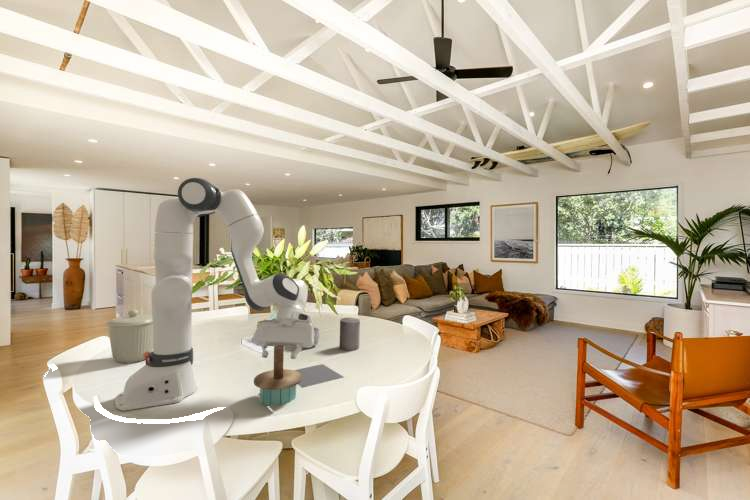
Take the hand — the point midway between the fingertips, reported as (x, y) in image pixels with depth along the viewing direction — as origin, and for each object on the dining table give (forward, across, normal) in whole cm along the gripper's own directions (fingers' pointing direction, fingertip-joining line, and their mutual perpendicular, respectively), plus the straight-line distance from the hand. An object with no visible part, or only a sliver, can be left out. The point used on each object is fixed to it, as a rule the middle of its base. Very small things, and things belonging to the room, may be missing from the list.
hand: (278, 357), depth 113 cm
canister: (-11, -73, +30) cm, 80 cm away
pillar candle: (-31, +15, +51) cm, 61 cm away
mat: (-5, +6, +24) cm, 25 cm away
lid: (+5, 0, +5) cm, 7 cm away
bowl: (+9, 0, +10) cm, 13 cm away
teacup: (-33, -6, +52) cm, 62 cm away
